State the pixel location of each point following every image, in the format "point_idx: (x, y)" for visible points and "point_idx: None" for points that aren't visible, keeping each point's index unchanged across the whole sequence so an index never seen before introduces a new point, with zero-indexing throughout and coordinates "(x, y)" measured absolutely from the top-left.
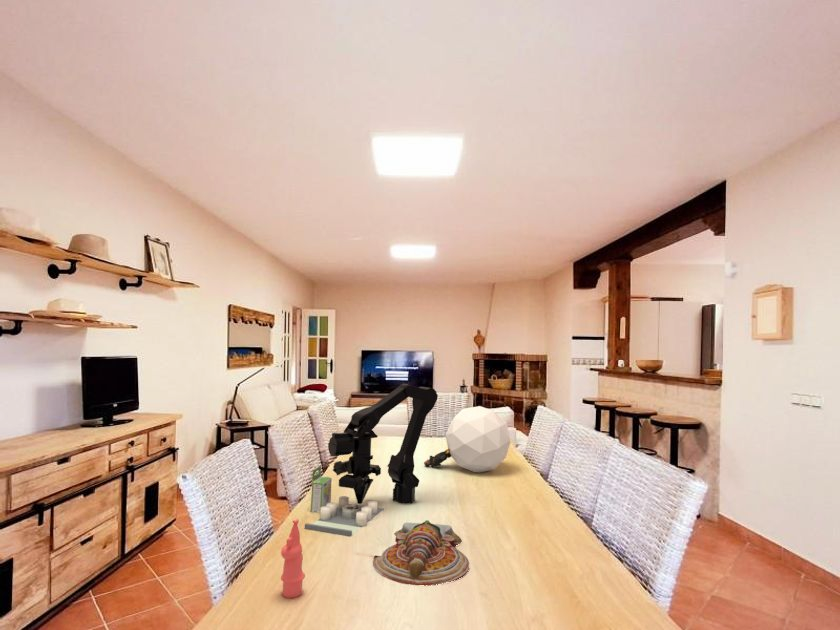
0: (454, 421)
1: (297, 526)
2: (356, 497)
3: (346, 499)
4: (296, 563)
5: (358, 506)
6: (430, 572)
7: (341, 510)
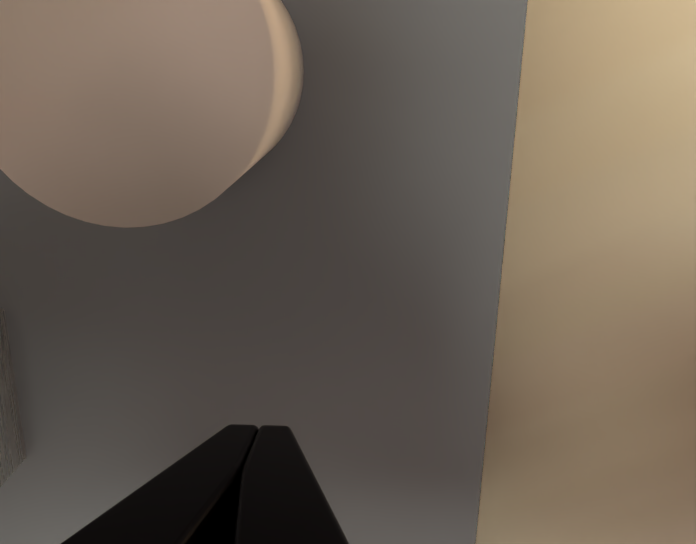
0: None
1: None
2: (137, 500)
3: (56, 200)
4: None
5: (412, 318)
6: None
7: None
